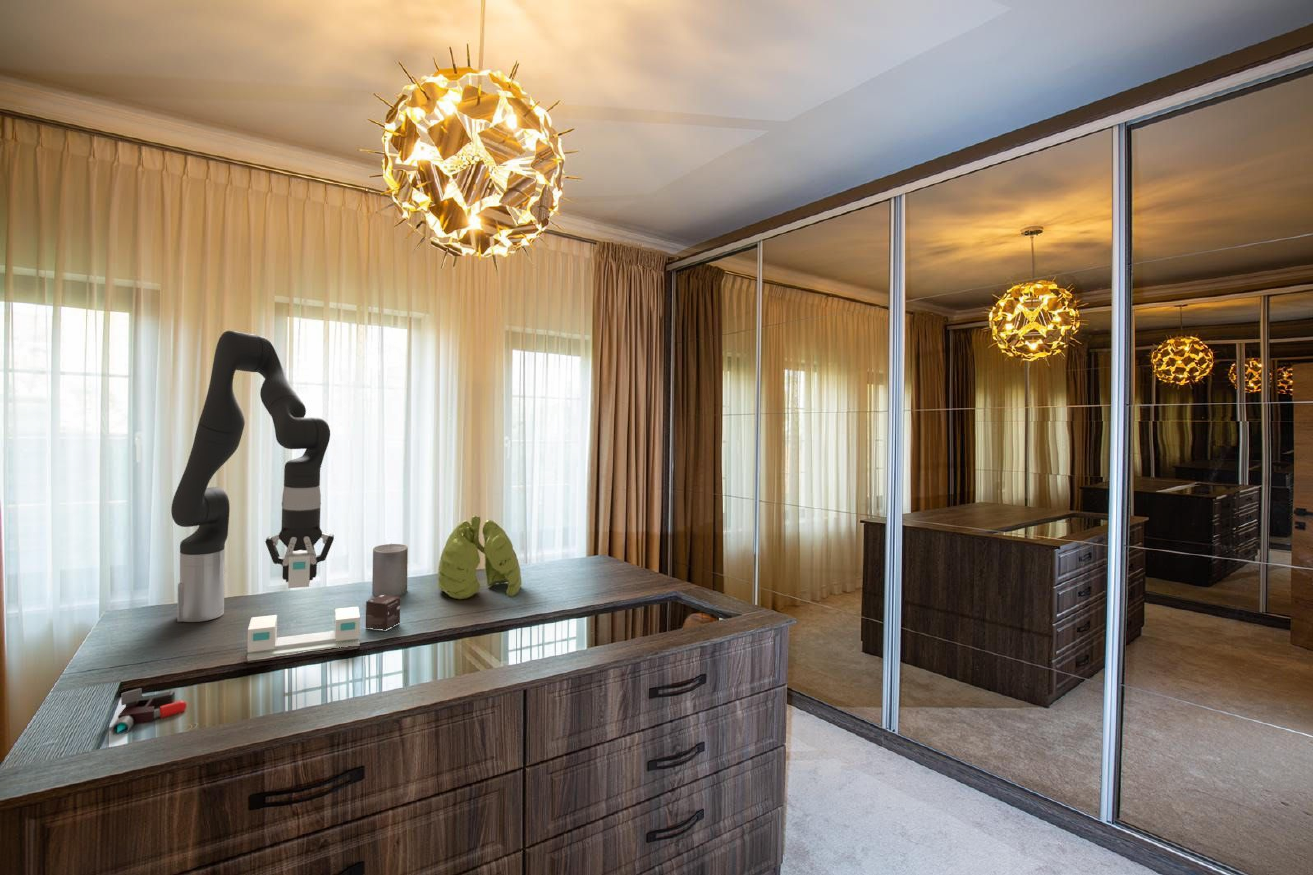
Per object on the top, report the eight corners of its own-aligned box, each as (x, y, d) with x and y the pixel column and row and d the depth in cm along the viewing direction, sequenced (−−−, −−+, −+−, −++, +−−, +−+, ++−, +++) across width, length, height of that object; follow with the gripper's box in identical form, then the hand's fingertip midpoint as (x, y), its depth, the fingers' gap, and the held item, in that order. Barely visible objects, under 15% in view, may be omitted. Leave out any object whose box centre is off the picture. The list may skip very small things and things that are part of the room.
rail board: (246, 664, 133) (247, 631, 133) (251, 646, 142) (252, 616, 141) (359, 649, 143) (360, 618, 143) (357, 634, 152) (358, 605, 152)
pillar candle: (385, 586, 190) (386, 538, 189) (413, 589, 188) (414, 541, 187) (364, 596, 181) (365, 545, 179) (394, 599, 179) (394, 549, 178)
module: (288, 588, 136) (288, 557, 135) (290, 580, 141) (291, 550, 141) (308, 587, 138) (309, 556, 137) (310, 578, 143) (311, 549, 143)
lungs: (437, 603, 178) (440, 520, 176) (436, 586, 192) (439, 510, 191) (524, 597, 187) (528, 518, 185) (517, 582, 201) (520, 509, 200)
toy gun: (104, 741, 103) (104, 713, 103) (130, 707, 114) (130, 682, 114) (176, 731, 107) (176, 704, 107) (194, 699, 118) (194, 674, 118)
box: (385, 632, 154) (386, 604, 154) (364, 629, 155) (365, 601, 155) (400, 624, 160) (401, 596, 160) (379, 621, 161) (380, 594, 161)
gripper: (337, 502, 145) (334, 573, 146) (266, 503, 138) (264, 577, 140) (336, 508, 138) (334, 582, 139) (262, 509, 132) (260, 588, 133)
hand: (299, 579), depth 139 cm, fingers closed on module, 4 cm apart
